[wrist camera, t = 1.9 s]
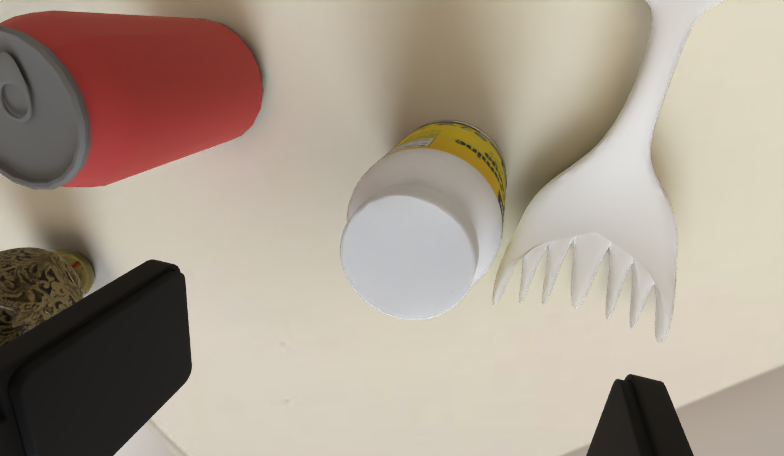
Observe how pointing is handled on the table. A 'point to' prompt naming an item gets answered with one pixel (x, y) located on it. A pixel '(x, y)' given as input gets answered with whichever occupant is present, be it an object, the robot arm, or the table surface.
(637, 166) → the white plastic utensil
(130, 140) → the beer can
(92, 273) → the cup
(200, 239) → the table surface
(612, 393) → the robot arm
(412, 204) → the pill bottle
